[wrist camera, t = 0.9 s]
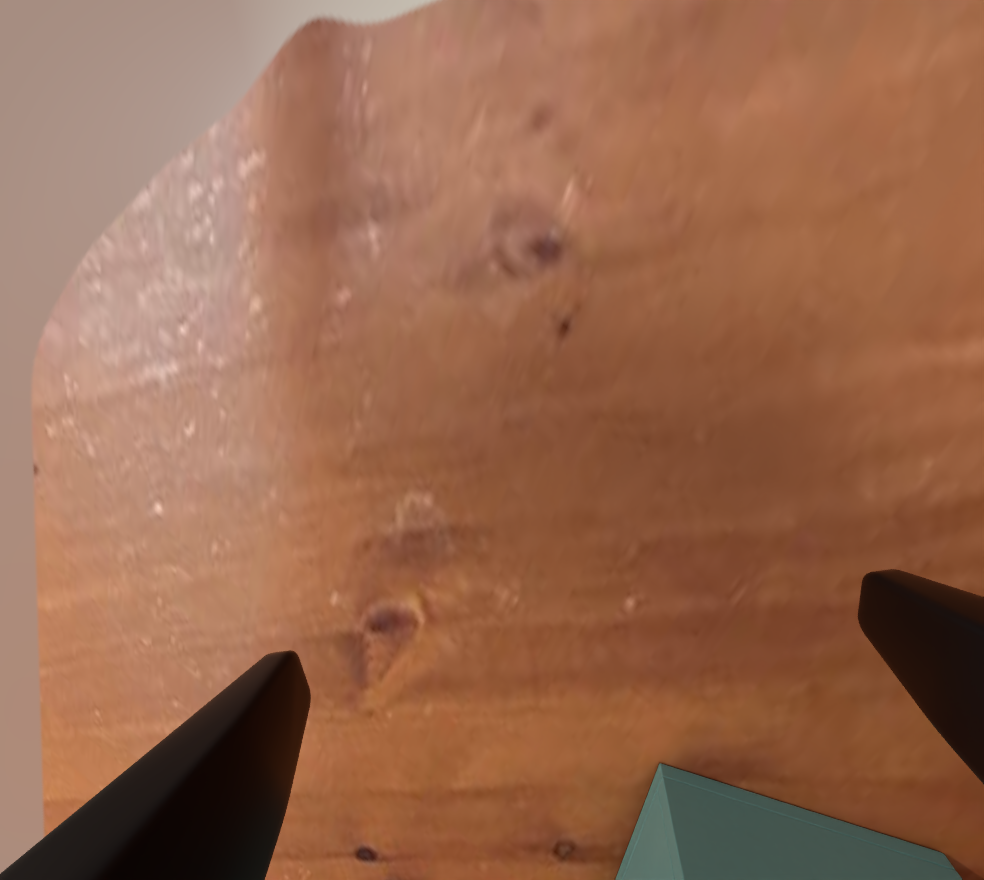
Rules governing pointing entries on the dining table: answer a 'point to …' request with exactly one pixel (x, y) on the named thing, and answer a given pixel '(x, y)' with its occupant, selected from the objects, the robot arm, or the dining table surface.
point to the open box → (759, 839)
